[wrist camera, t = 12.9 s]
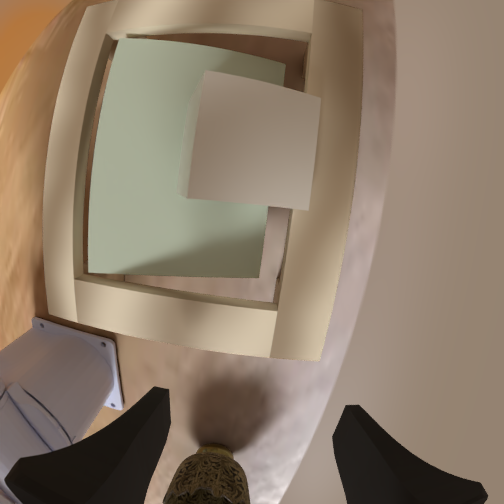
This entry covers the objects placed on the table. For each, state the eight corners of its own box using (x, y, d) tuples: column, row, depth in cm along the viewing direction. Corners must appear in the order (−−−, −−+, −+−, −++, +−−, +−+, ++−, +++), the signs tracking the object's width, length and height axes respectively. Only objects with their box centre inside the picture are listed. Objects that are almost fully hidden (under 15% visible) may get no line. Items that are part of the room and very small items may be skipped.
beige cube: (176, 192, 13) (187, 198, 9) (188, 102, 12) (205, 70, 8) (264, 201, 15) (308, 210, 11) (274, 117, 14) (321, 98, 10)
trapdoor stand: (101, 279, 20) (48, 314, 13) (129, 48, 16) (87, 6, 10) (300, 307, 20) (319, 361, 13) (331, 59, 17) (362, 9, 10)
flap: (91, 256, 15) (79, 272, 13) (115, 60, 13) (110, 37, 10) (241, 262, 19) (258, 278, 16) (264, 80, 16) (285, 64, 13)
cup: (257, 433, 23) (257, 501, 15) (248, 472, 25) (246, 531, 17) (177, 422, 23) (157, 487, 15) (180, 463, 24) (166, 520, 17)
